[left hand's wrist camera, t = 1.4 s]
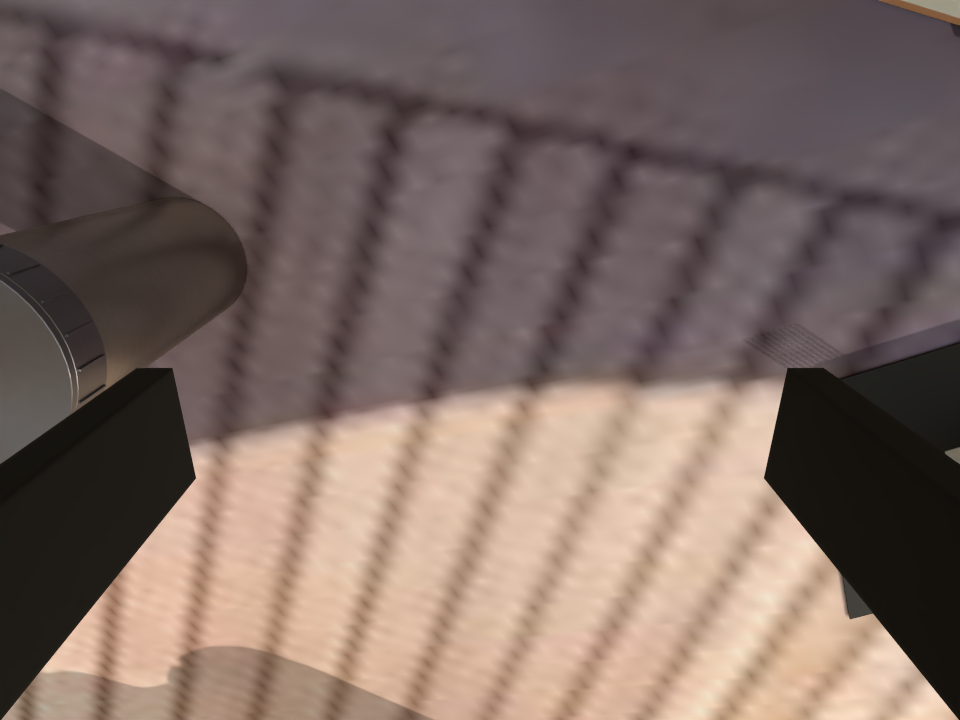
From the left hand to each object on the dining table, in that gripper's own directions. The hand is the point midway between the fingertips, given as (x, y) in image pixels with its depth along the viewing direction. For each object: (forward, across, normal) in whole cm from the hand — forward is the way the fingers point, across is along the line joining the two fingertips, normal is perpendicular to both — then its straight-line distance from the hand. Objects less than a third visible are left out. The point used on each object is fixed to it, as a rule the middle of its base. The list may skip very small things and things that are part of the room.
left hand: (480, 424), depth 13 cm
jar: (+28, -20, -2) cm, 34 cm away
